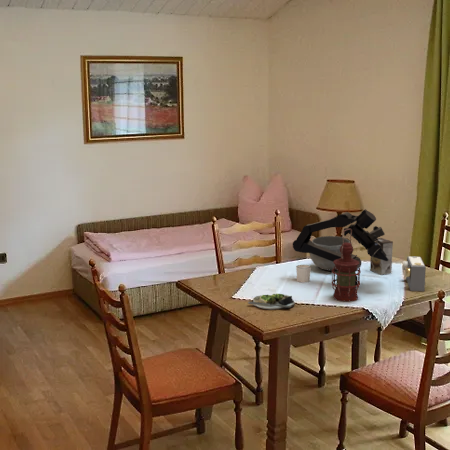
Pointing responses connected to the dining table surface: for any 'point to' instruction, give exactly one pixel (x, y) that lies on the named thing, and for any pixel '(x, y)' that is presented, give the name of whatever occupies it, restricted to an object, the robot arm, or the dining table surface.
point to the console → (416, 274)
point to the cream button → (405, 265)
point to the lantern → (346, 274)
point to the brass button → (407, 272)
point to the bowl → (330, 244)
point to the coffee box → (381, 265)
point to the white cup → (303, 273)
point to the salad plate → (273, 301)
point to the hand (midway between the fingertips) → (386, 258)
